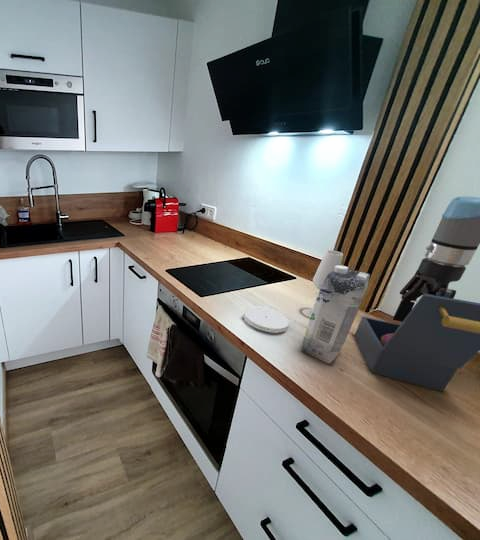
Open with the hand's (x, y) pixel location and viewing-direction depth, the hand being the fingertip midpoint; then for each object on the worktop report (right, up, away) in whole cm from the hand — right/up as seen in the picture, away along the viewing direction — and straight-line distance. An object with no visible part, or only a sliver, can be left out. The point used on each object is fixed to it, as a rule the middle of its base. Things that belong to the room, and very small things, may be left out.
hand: (408, 333), depth 78 cm
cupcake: (-1, -8, +4) cm, 9 cm away
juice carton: (-20, -7, +6) cm, 22 cm away
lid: (-5, +3, -13) cm, 14 cm away
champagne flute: (-9, +1, +26) cm, 27 cm away
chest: (-1, -9, +4) cm, 10 cm away
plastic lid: (-30, -1, +20) cm, 36 cm away
